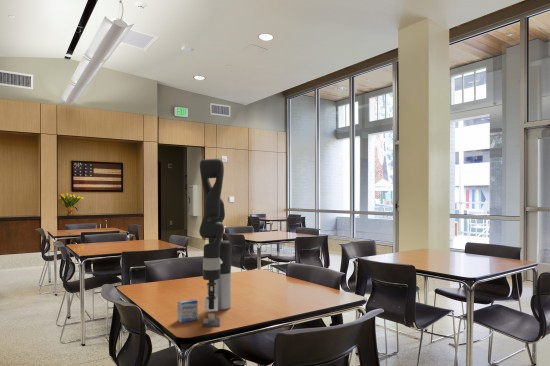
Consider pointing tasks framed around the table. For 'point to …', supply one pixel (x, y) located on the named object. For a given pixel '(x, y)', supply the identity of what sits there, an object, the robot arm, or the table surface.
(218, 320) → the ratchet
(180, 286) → the table surface
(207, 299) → the socket
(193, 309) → the medicine box
